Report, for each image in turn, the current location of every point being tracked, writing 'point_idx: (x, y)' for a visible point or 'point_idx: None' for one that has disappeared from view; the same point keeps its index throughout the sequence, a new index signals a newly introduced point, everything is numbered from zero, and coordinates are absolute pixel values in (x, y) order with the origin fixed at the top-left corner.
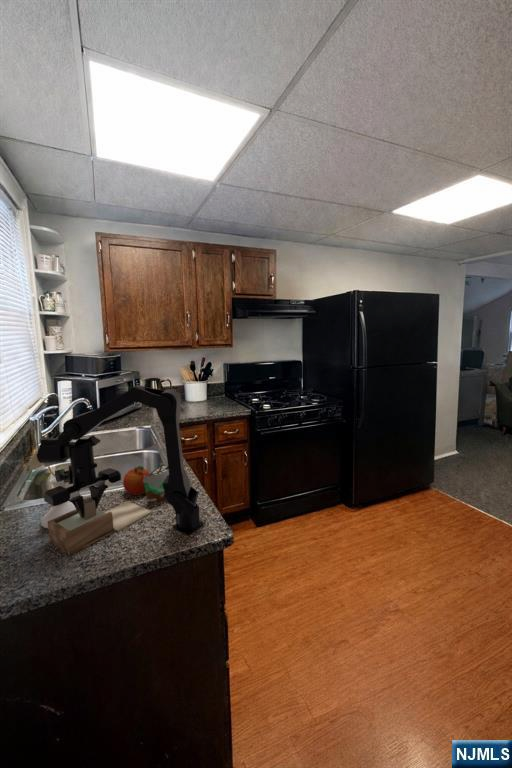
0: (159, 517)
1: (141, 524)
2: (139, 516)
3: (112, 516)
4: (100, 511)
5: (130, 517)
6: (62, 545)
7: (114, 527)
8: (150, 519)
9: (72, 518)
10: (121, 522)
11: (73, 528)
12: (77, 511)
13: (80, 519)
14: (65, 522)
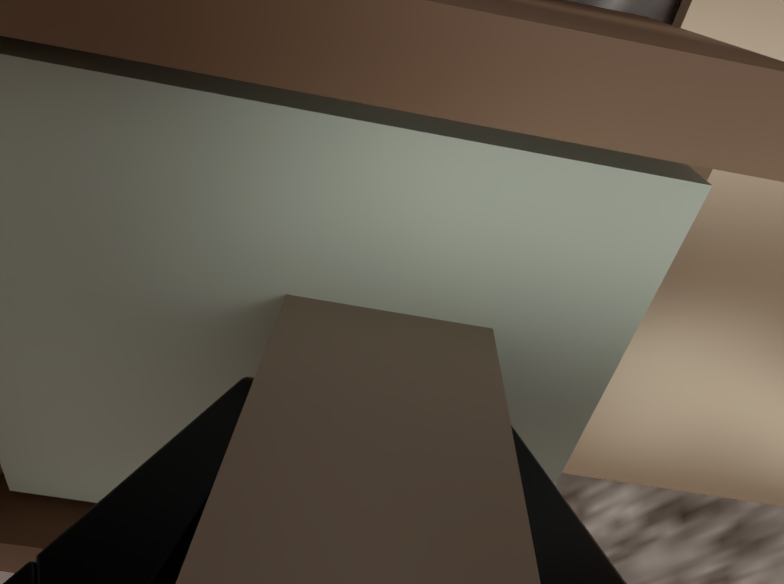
0: (773, 575)
1: (648, 529)
2: (770, 480)
3: (762, 240)
4: (561, 443)
5: (746, 426)
6: None
7: None
8: (736, 543)
9: (173, 200)
10: (636, 412)
11: (56, 454)
12: (372, 93)
13: (240, 362)
14: (18, 200)
